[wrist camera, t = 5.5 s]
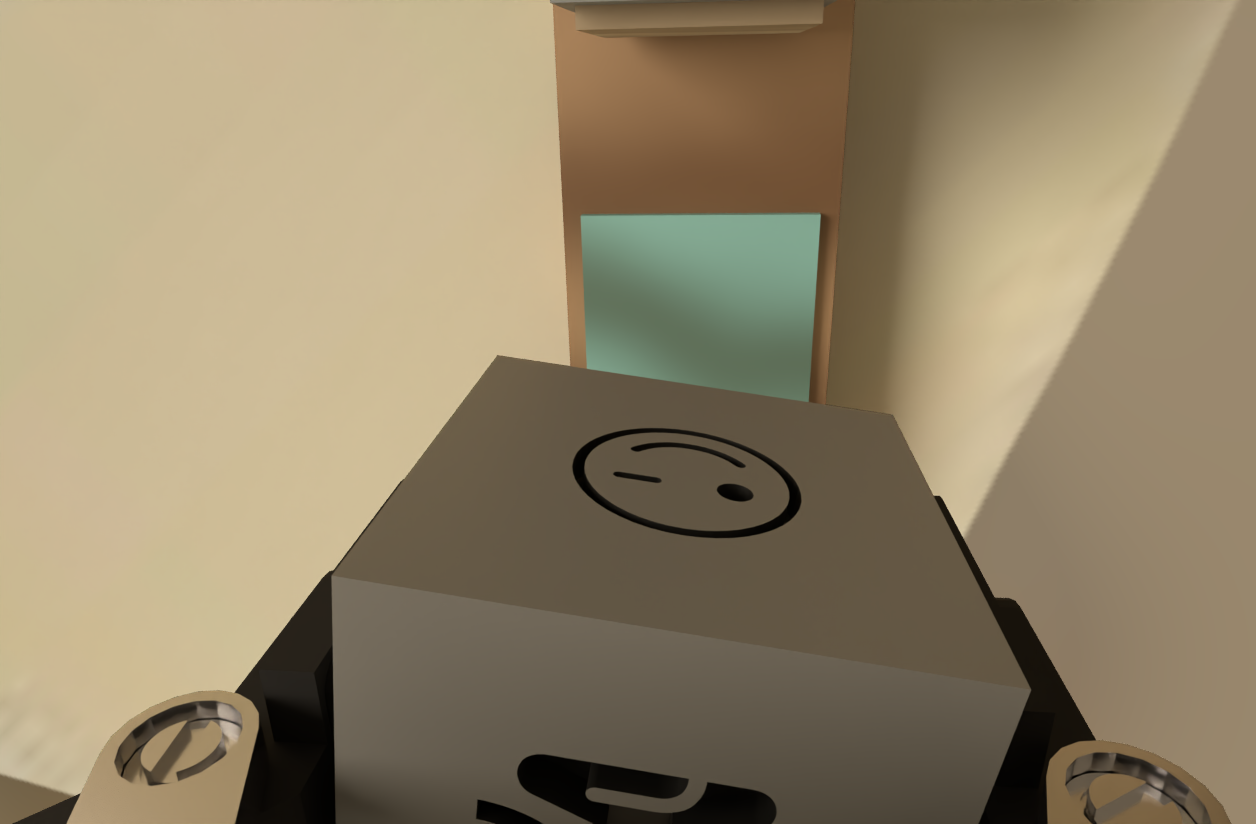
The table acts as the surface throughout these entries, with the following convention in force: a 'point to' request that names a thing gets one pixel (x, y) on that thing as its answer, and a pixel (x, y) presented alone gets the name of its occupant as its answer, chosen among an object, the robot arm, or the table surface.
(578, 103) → the wooden block base
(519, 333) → the table surface
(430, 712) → the dice cube
